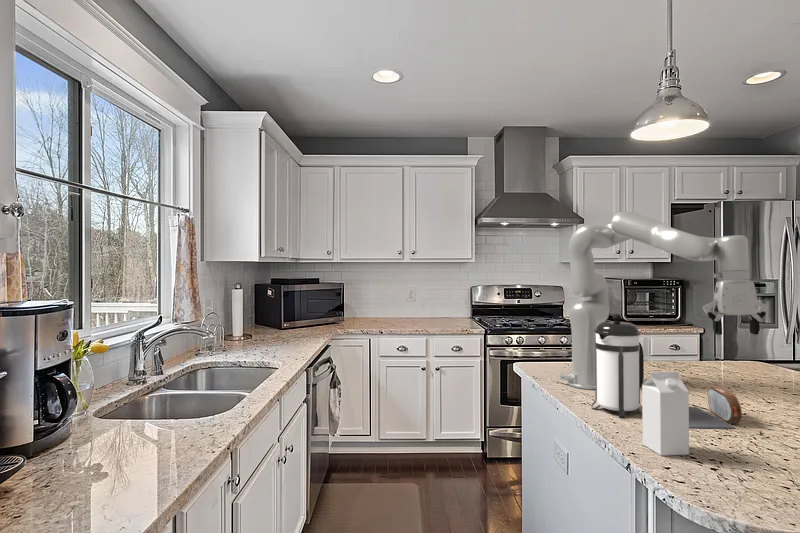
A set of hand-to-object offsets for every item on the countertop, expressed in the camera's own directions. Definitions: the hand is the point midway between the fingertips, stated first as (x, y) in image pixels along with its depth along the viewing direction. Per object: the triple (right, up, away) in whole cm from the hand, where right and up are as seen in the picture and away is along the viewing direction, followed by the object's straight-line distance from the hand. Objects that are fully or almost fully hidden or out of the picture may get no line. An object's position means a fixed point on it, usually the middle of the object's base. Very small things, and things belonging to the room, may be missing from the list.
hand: (736, 334), depth 137 cm
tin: (-6, -25, -3) cm, 25 cm away
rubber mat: (-14, -24, -2) cm, 28 cm away
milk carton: (-36, -25, -25) cm, 50 cm away
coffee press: (-32, -25, +6) cm, 41 cm away
